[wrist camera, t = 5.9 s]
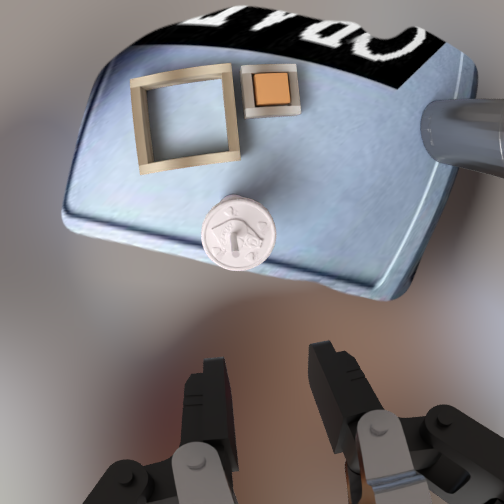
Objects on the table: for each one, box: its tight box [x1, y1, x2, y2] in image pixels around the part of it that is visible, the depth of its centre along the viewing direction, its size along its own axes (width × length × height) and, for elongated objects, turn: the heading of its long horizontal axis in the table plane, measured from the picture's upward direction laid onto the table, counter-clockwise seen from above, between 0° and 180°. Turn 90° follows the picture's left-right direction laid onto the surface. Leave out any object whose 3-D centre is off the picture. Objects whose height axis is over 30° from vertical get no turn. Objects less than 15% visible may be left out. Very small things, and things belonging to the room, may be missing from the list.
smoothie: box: [201, 195, 276, 271], centre depth 27 cm, size 6×6×14 cm
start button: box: [253, 73, 290, 107], centre depth 27 cm, size 3×3×2 cm
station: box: [130, 63, 301, 175], centre depth 28 cm, size 17×10×3 cm, turn 96°
